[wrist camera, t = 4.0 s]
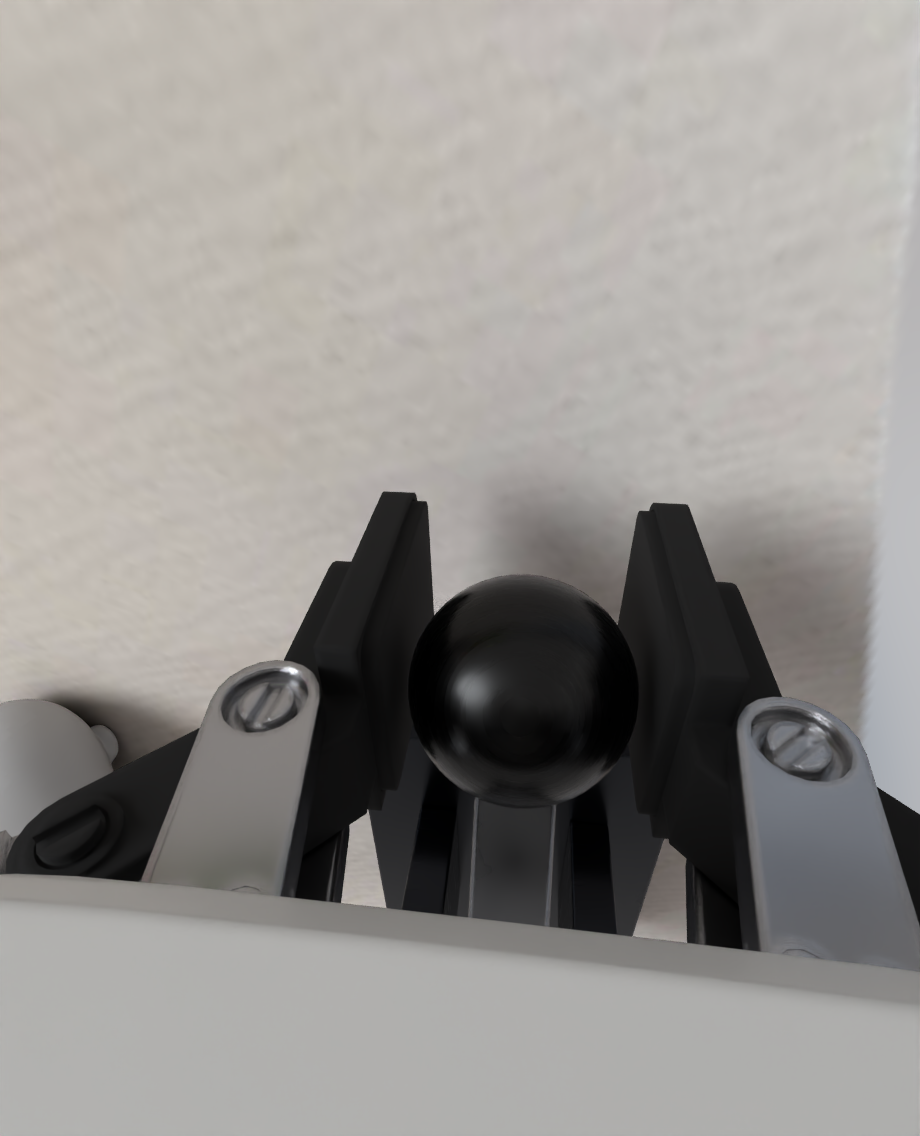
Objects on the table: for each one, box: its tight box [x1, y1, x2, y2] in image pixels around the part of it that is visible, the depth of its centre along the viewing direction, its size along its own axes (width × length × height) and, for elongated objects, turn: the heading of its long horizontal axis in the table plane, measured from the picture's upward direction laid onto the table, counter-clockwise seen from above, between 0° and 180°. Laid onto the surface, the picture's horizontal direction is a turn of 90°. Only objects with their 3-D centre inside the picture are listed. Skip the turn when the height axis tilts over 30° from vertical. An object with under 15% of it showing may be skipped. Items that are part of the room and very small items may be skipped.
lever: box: [408, 574, 639, 927], centre depth 9 cm, size 16×3×3 cm
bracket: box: [369, 725, 664, 936], centre depth 13 cm, size 10×8×14 cm
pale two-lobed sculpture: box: [0, 699, 118, 837], centre depth 18 cm, size 4×8×5 cm
